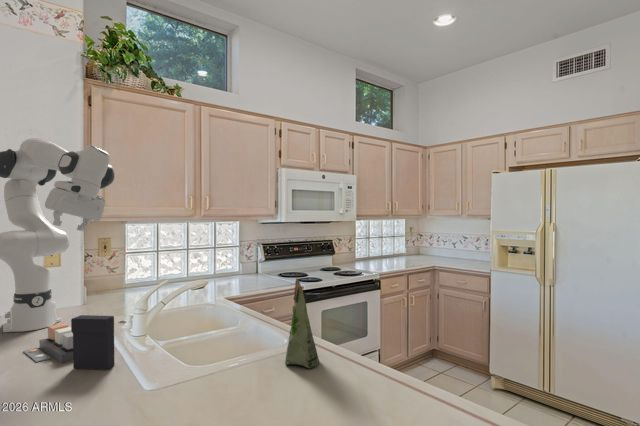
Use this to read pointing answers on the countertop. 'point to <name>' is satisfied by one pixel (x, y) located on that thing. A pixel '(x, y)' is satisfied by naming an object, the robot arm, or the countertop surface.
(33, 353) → the card
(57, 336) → the cream key
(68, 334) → the grey key
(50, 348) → the keyguard frame
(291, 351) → the green tall pyramid
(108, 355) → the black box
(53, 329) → the terracotta key
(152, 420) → the countertop surface
